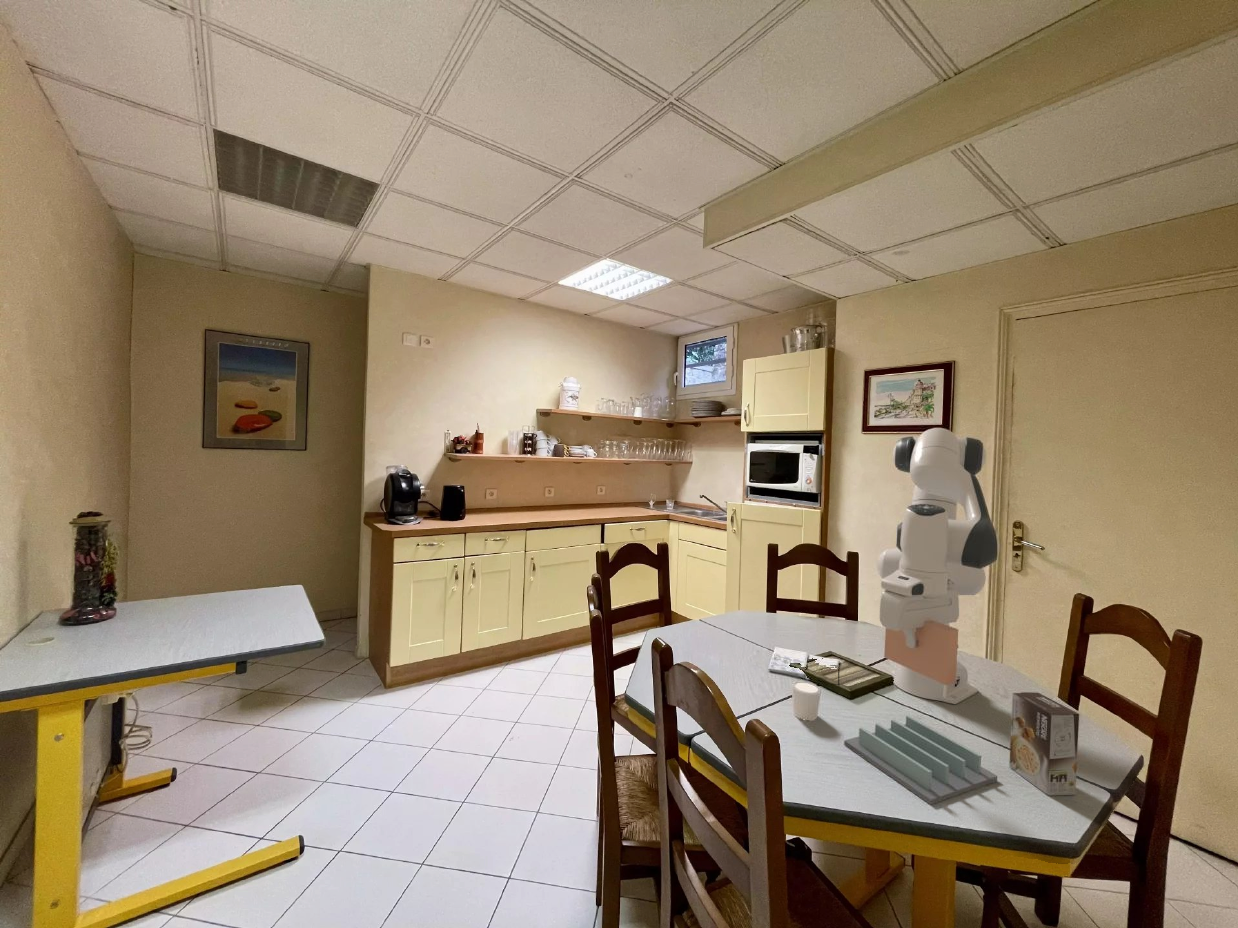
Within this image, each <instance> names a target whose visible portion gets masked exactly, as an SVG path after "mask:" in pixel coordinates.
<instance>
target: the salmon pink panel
mask: <svg viewBox="0 0 1238 928" xmlns="http://www.w3.org/2000/svg"><path fill="white" fill-rule="evenodd" d="M914 634H915V637H916V639H918V640H919V643H918V647H917V648H910V647H908V646H907V645H906V637H905V634H904V632H903V630H901V631H893V630H891V629H888V628H886V627H885V634H884V653H883V654H884V656H883V657H884V658H885V659H887V660H889V661H892V662H893V663H895V664H896V663H898V664H900V665H902V666H904V667H907V668H909V669H911V670H913V671H915V672H918V673H920V674H922V675H924V676H926V677H929V678H931V679H933V680H935V681H937V682H940V683H942V684H944V685H951V684H955V683H956V665H957V660H958V649H957V647H958V646H959V643H958V642H959V629H958V628H957V627H952V626H950V625H949V626H947V625H944V624H941V623H938V622H935V621H928V622H924V626H923V627H920V628H916V633H914ZM958 648H959V647H958Z"/></svg>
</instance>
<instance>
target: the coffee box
mask: <svg viewBox="0 0 1238 928" xmlns="http://www.w3.org/2000/svg"><path fill="white" fill-rule="evenodd" d="M1011 695H1012V699H1011V718H1010V719H1011V722H1010V724H1011V725H1010V738H1009V739H1010V742H1009V743H1010V744H1009V745H1010V746H1009V762H1008V763H1009V764H1008V765H1009V768H1010V769H1011V770H1013V771H1014V772H1015V773H1017V774H1018V775H1020V776H1021V777H1022V778H1024V779H1025V780H1027V781H1028V782H1029V783H1030V784H1032V785H1033V786H1034V787H1036V788H1037V789H1039V790H1040V791H1041V792H1043V793H1044V794H1045V795H1046V796H1074V795H1076V788H1077V786H1076V785H1077V768H1078V767H1077V766H1078V763H1077V762H1078V747H1079V730H1080V728H1079V726H1080V713H1078V712H1076V711H1074V710H1073V709H1071V708H1069V707H1067V706H1065V705H1062V704H1061V703H1060V702H1057V701H1056V700H1053V699H1052V698H1049V697H1048V696H1045V695H1044V694H1041V692H1037V691H1036V692H1035V691H1034V692H1032V691H1031V692H1029V691H1028V692H1027V691H1025V692H1012V694H1011Z"/></svg>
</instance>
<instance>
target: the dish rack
mask: <svg viewBox="0 0 1238 928" xmlns="http://www.w3.org/2000/svg"><path fill="white" fill-rule="evenodd" d="M890 720H891V721H890V728H887V727H885V726H883V725H882V724H880V723H875V727H874V728H875V729H874V732H871V731H868V730H867V729H865V728H864V727H859V728H858V736H855V737H852V738H848V739H845V740H844V741H843V744H844V746H845V747H847V748H848V749H850V750H852V751H853V752H854V753H855V754H857V755H858V756H859V757H860V758H862V759H864V760H865V761H867V762H868V763H870V764H871V765H872V766H873V767H875V768H877V770H879V771H881V772H883V773H884V774H885V775H887V776H888V777H890V778H891V779H893V780H894V781H895V782H897V783H898V784H900V785H901V786H903V787H904V788H905V789H907V790H908V791H910V792H911V793H913V794H915V795H916V796H917V797H918V798H920V799H921V800H923V801H924V802H925V803H927V804H929V805H931V806H932V805H934V804H938V803H940V802H943V801H946V800H948V799H951V798H954V797H957V796H961V795H962V794H965V793H968V792H970V791H973V790H976V789H978V788H981V787H985V786H987V785H990V784H991V783H992V784H993V783H995V782H998V775H997V774H995V773H993V772H991V771H989V770H988V769H986V768H984V767H982V766H981V764H982V755H981V754H980V753H978V752H976V751H974V750H972V749H971V748H969V747H967V746H964V745H963V744H961V743H959V742H957V741H956V740H954V739H952V738H950V737H949V736H947V735H945V734H943V733H941V732H939V731H938V730H936V729H934V728H932V727H930V726H929V725H927V724H925V723H923V722H921V721H919V720H918V719H916V718H914V717H912V716H910V715H906V719H905V724H903V723H900V722H899V721H897V720H895V719H890Z"/></svg>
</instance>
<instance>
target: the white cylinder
mask: <svg viewBox="0 0 1238 928" xmlns="http://www.w3.org/2000/svg"><path fill="white" fill-rule="evenodd" d="M821 691H822V689H821V688H820V686H818V685H816V684H815V683H812V682H809V681H800V680H797V681H794V682H793V683H791V694H792V695H791V696H792V713H794V714H793V715H794V716H795V717H796V716H797V717H798V718H797V717H796V718H797V719H800V718H801V719H800V720H802V719H805V720H804V721H806V720H809V721H808V722H813V721H816V720H817V719H818V713H819V706H820V701H821V700H820V699H821V693H822V692H821ZM816 718H817V719H816ZM815 719H816V720H815Z"/></svg>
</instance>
